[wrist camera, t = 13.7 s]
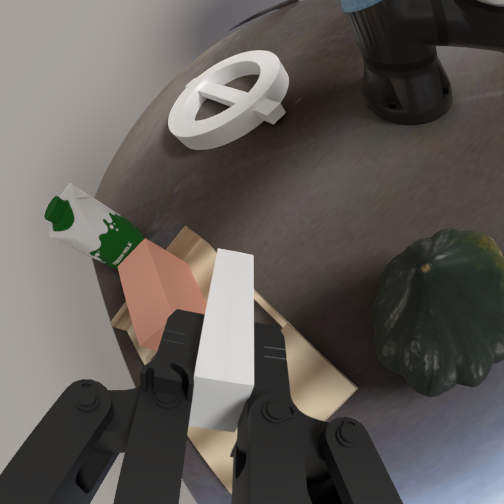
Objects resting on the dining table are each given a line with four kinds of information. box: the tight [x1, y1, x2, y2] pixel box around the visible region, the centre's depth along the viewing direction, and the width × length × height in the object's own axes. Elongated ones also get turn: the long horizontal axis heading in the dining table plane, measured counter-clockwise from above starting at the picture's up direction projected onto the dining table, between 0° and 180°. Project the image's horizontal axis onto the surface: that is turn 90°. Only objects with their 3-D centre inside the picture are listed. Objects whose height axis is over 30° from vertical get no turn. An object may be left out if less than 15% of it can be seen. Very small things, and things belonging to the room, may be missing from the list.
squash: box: [370, 229, 504, 397], centre depth 23 cm, size 14×15×15 cm
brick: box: [118, 238, 207, 351], centre depth 39 cm, size 13×6×9 cm, turn 31°
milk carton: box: [45, 183, 145, 270], centre depth 49 cm, size 9×9×20 cm
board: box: [111, 226, 358, 494], centre depth 37 cm, size 32×20×4 cm, turn 43°
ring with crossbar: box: [168, 50, 289, 150], centre depth 61 cm, size 28×28×5 cm
